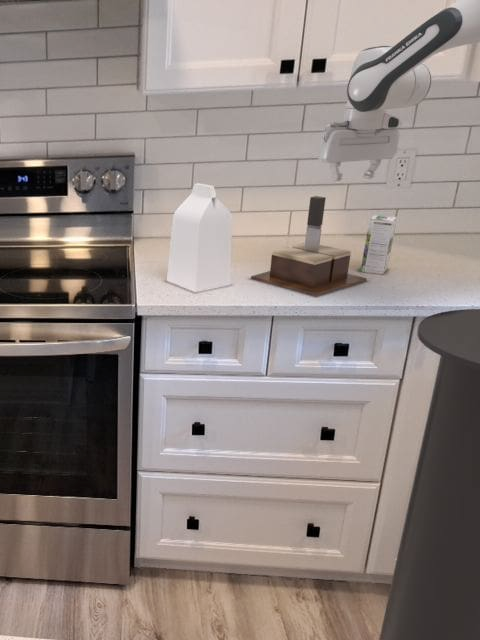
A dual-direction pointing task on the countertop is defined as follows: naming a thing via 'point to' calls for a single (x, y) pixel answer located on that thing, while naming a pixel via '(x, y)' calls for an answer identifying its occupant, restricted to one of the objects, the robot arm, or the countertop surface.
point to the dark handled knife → (314, 223)
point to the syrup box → (378, 244)
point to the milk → (201, 242)
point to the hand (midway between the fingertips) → (352, 179)
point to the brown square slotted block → (310, 270)
